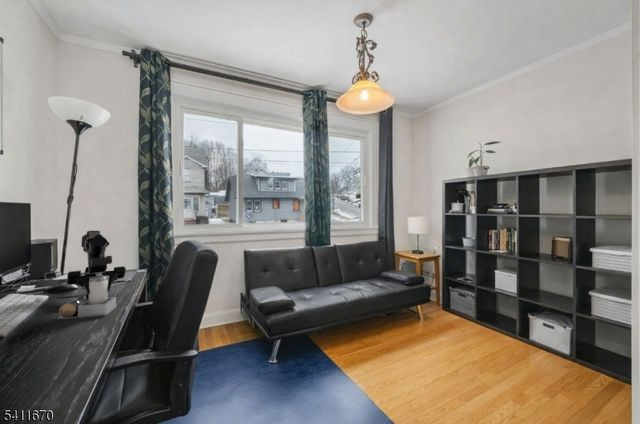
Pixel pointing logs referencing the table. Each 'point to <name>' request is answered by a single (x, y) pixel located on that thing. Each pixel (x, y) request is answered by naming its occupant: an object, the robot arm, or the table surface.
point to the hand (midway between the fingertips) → (98, 292)
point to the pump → (98, 289)
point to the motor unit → (85, 308)
